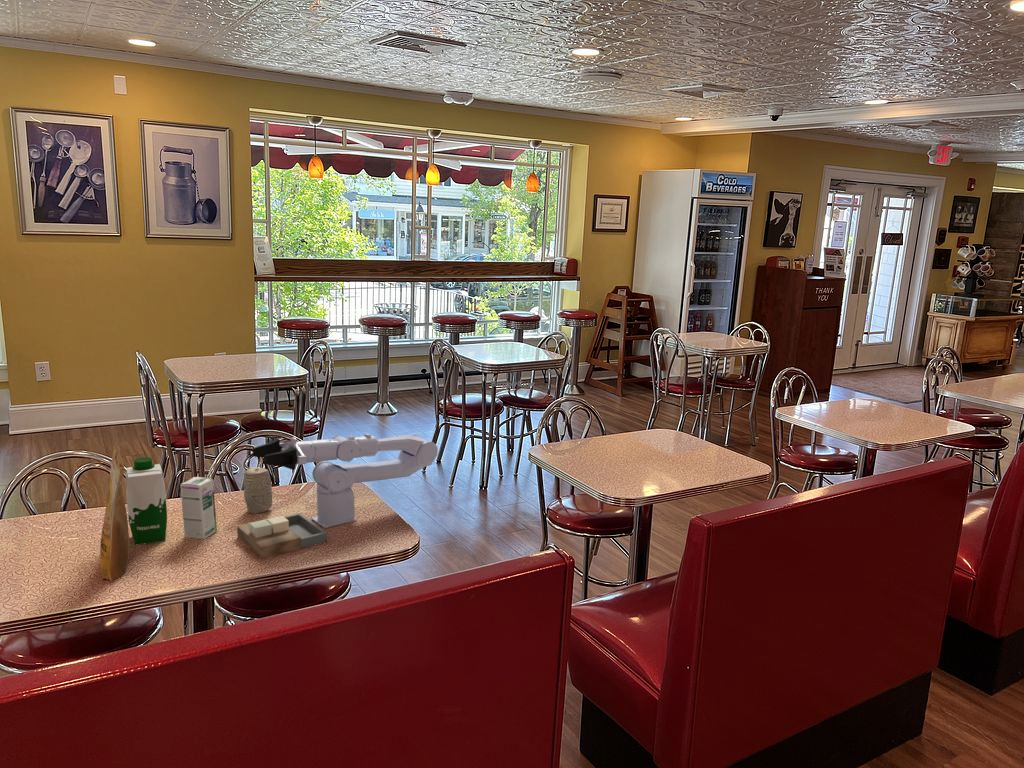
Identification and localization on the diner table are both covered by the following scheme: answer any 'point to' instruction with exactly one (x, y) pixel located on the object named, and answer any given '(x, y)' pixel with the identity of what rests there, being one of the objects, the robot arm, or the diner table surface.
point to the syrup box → (198, 507)
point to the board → (269, 541)
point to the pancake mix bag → (115, 525)
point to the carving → (257, 490)
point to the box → (306, 530)
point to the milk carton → (146, 501)
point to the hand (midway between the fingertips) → (259, 456)
